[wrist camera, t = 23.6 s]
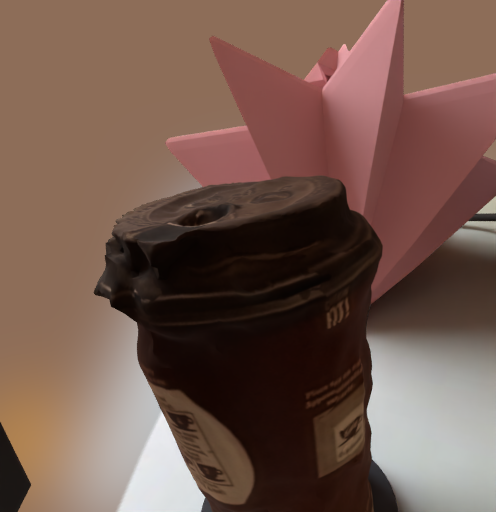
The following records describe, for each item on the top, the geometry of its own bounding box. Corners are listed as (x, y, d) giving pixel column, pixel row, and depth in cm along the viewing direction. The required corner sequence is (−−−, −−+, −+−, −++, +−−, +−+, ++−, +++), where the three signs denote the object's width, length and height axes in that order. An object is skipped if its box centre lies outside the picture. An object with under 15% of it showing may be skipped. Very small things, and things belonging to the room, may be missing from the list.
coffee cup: (219, 685, 12) (66, 282, 8) (171, 478, 20) (78, 213, 16) (457, 545, 15) (434, 171, 10) (333, 407, 22) (290, 157, 18)
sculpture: (172, 334, 35) (90, 64, 28) (246, 244, 53) (207, 66, 46) (577, 327, 26) (603, -84, 19) (500, 221, 43) (499, -9, 37)
